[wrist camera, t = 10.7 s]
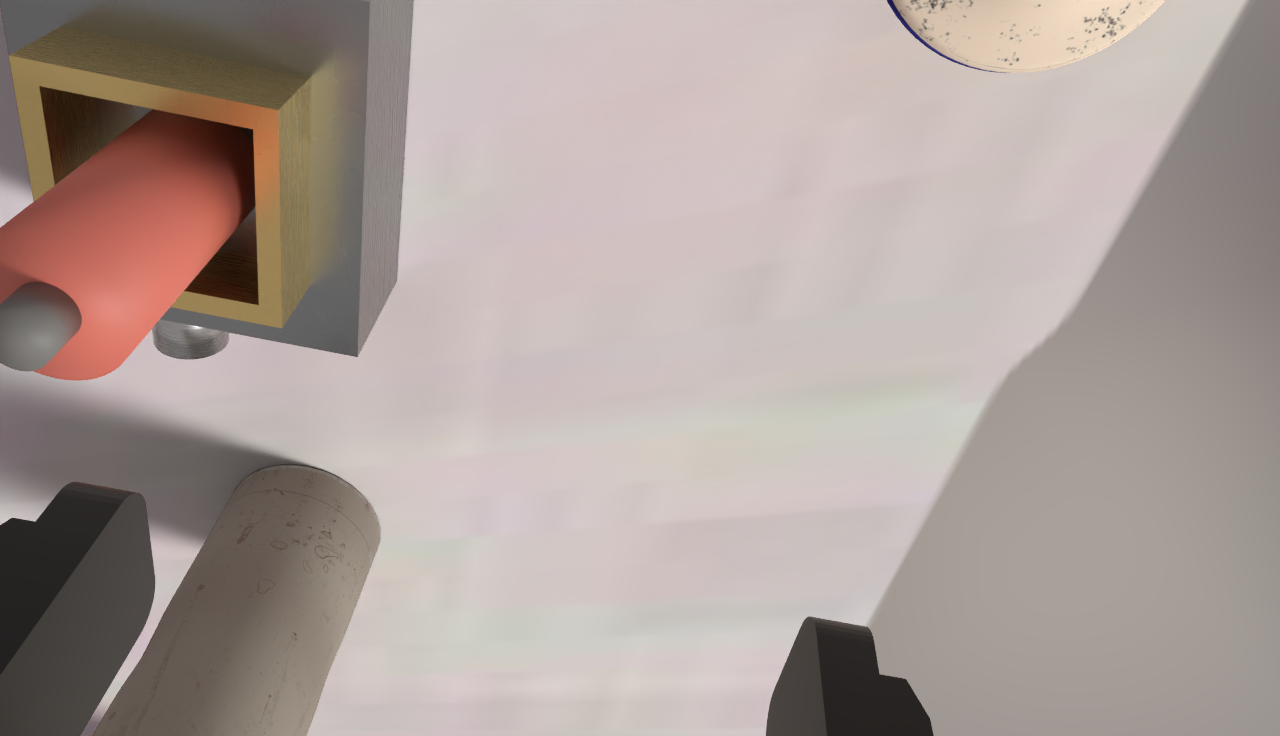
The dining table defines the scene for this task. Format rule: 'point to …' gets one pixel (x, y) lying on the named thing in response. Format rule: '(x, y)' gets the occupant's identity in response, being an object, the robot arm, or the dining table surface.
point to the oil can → (119, 243)
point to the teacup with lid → (1020, 29)
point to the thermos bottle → (255, 613)
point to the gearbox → (270, 117)
